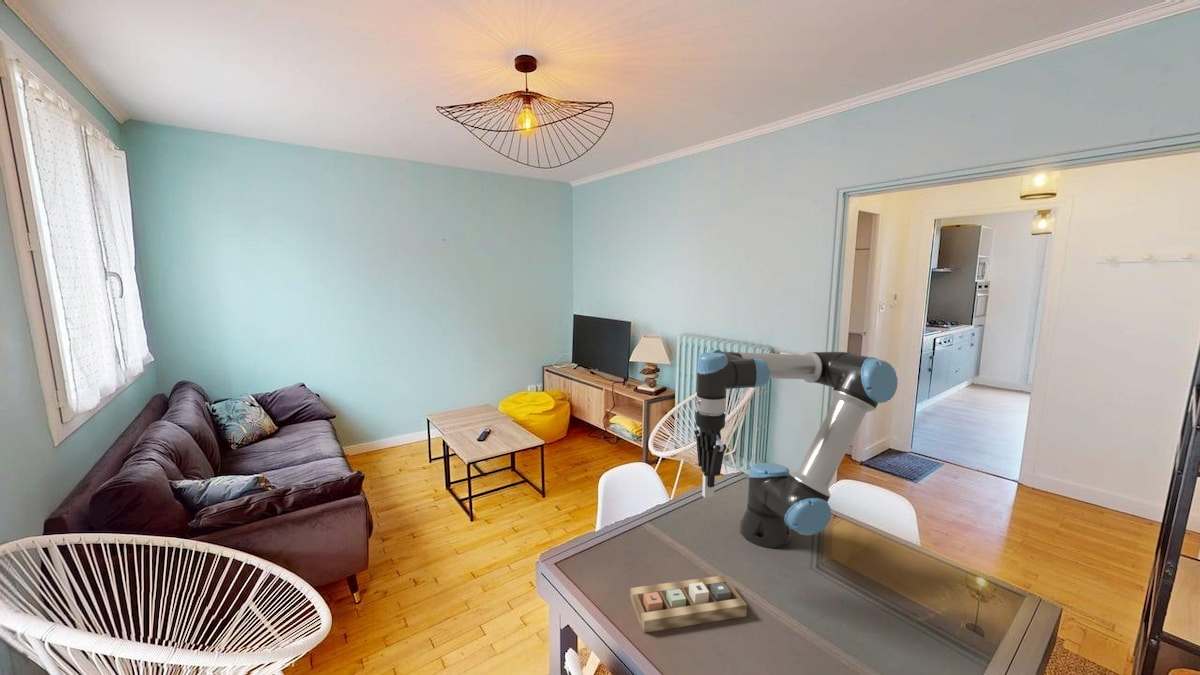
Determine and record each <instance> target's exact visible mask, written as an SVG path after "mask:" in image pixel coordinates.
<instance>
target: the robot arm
mask: <svg viewBox="0 0 1200 675" xmlns="http://www.w3.org/2000/svg"><path fill="white" fill-rule="evenodd" d="M770 379H778V380H779V379H783V380H784V379H785V380H786V379H787V380H804V381H805V382H807V383H811V384H812V383H814V384H819V385H822V386H823V385H824V386H827V387H830V388H833V389H832V394H833V396H834V400H833V402H832V403H831V406H830V407H829V410H828V412H827V413H826V416H825V417H824V420H823V421H822V423H821V425H820V428H819V429H818V431H817V433H816V435H815V437H814V439H813V441H812V443H811V444H810V446H809V449H808V451H807V453H806V454H805V456H804V458H803V460H802V462H801V464H800V466H799V468H798V470H797V471H795V472H790V469H789V468H788V467H787V466H785V465H782V464H778V463H773V462H759V463H755V464H753V465H752V466H750V470H749V475H748V491H747V505H746V510H745V512H744V513H743V515H742V516H743V517H742V518H741V520H740V522H739V523H740V524H739V532H740V534H741V536H742V537H743V538H745V539H746V540H747V541H749V542H751V543H753V544H755V545H757V546H760V547H765V548H769V549H770V548H771V549H774V548H775V549H776V548H783V547H786V546H787V545H788V544H789V543H790V539H791V532H790V529H791V530H793V531H794V532H795V533H798V534H800V535H803V536H812V535H815V534H818V533H820V532H821V531H823V530H824V529H825V528H826V527H827V526H828V524H829V523H830V520H831V517H832V513H831V512H832V509H831V506H830V504H829V503H828V502H829V499H830V497H831V494H830V493H831V492H830V491H829V486H830V484H831V482H832V480H833V478H834V476H835V475H836V473H837V470H838V469H839V466H840V464H841V463H842V461H843V459H844V457H845V455H846V454H847V451H848V449H849V447H850V446H851V444H852V441H853V439H854V437H855V436H856V433H857V431H858V430H859V427H860V426H861V424H862V422H863V420H864V419H865V417H866V414H868V413H869V412H873V411H875V410H876V408H877V407H878V404H884V403H886V402H887V403H888V401H890V400H891V399H893V397H894V396H895V394H896V392H897V389H898V384H899V383H898V381H899V380H898V376H897V372H896V370H895V368H894V367H893V365H892V364H891V363H889V362H887V361H886V360H883V359H879V358H877V357H869V356H864V355H861V354H855V353H850V352H846V351H808V352H806V353H804V354H791V353H790V354H788V353H787V354H785V353H762V352H741V351H740V352H737V351H736V352H734V351H733V352H732V351H723V350H720V349H711V350H708V351H707V352H704V353H701V354H699V355H698V358H697V366H696V400H695V404H696V413H695V425H696V426H697V427H698V428H699V429H695V430H694V435H695V440H696V451H697V452H696V453H697V462H698V464H697V465H698V467H700V469H701V472H702V487H701V488H702V492H701V494H702V497H703V498H704V499H706V498H707V499H709V498H714V497H715V484H716V483H715V480H716V479H715V478H716V477H718V476H720V475H721V472H722V466H723V460H724V456H725V452H726V450H727V445H726V443H723V442H722V441H721V440H722V436H721V434H722V433H721V430H723V429H724V428H725V426H726V413H725V412H726V411H727V410H726V409H727V405H726V404H727V390H730V389H731V390H732V389H749V388H759V387H763V386H766V385H767V384H768V382H769V381H770Z"/></svg>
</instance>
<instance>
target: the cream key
mask: <svg viewBox="0 0 1200 675" xmlns="http://www.w3.org/2000/svg"><path fill="white" fill-rule="evenodd" d="M689 598H690V599H691V601H692V603H693V604H694V605H698V604H705V603H708V601H709V591H708V590H707V588H706V587H705V585H704V584H703V582H700V583H693V584H689Z"/></svg>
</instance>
